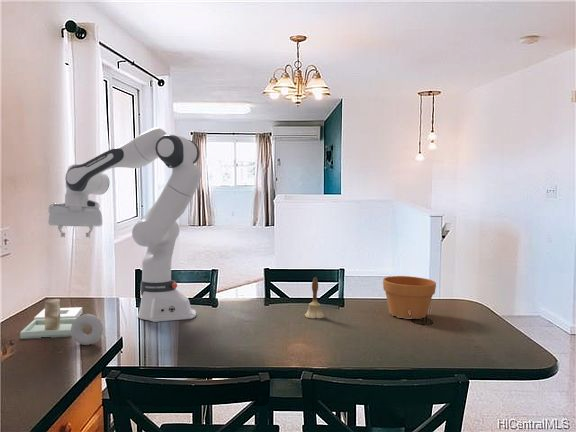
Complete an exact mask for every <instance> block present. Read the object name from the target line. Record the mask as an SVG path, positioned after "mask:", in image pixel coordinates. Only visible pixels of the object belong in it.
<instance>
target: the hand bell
mask: <svg viewBox="0 0 576 432" xmlns="http://www.w3.org/2000/svg"><path fill="white" fill-rule="evenodd" d="M311 290H312V302H310V303H308V308H307V311H306V313H305V314H304V315H305V316H306V317H308V318H322V317H324V318H325V315H324V314H323V313H322V309H321V304H320V303H319V302H318V291H319V281H318V278H317V277H313V279H312V282H311ZM308 318H307V319H308Z"/></svg>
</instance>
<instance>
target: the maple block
mask: <svg viewBox="0 0 576 432" xmlns="http://www.w3.org/2000/svg"><path fill="white" fill-rule="evenodd" d="M44 308H45V330H58V329H59V328H60V308H61V299H60V298H47V299H46V300H45V301H44Z"/></svg>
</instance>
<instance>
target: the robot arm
mask: <svg viewBox="0 0 576 432" xmlns="http://www.w3.org/2000/svg"><path fill="white" fill-rule="evenodd" d="M200 153H201V152H200V148H199V145H197V144H196V143H195V142H194V141H193V140H190V139H187V138H185V137H184V136H180V135H175V134H168V133H167V132H166V131H165V130H164V129H162V128H160V127H153V128H150V129H149V130H147V131H144V132H142V133H141V134H139V135H137V136H136V137H135V138H133V139H131V140H130V141H127V142H126V143H124V144H122V145H120V146H117V147H114V148H111V149H109V150H106V151H104V152H103V153H100V154H99V155H97V156H95V157H93V158H91V159H89V160H88V161H86V162H83V163H74V164H72V165H70V166H68V168H67V171H66V173H65V189H66V192H65V195H64V203H62V202H61V203H57V202H55V203H54V202H53V203H52V204H50V205H49V206H48V213H49V215H48V225H49V226H50V227H57V229H58V231H59V233H60V238H66V232H63V230H62V229H63V228H64V227H88V228H89V230H88V232H85V238H90V237H91V234H92V232H93V231H94V228H95V227H101V226H103V215H102V214H103V213H102V211H101V210H100V203H99V202H97V201H94V200H91V199H89V195H90V194H91V195H94V196H95V195H96V196H98V195H103V194H105V193H107V191H108V189H109V187H110V178H109V176H108V174H106V173H104V172H106V171H108V170H110V169H114V168H129V169H139V168H143V167H145V166H147V165H149V164H150V163H152V162H153V161H155V160H156V159H159V160H161V161H162V162H163V163H164V164H165V166H166V167H167V168H168V169H171V175H170V176H169V179H168V180H167V182H166V184H165V186H164V188H163V189H162V190H161V193H160V194H159V197H158V198H157V200H156V201H155V203H154V204H152V206H151V208H150V209H149V210H148V211H147V212H146V214H145V215H144V216H143V217H142V218H141V219H140V220H139V221H138V222H137V223H135V224H134V226H133V227H132V230H131V236H132V239H133V241H134V242H135V243H136V244H137V245H138V246H141V247H145V248H147V249H146V252H145V256H144V257H143V259H142V262H141V263H142V264H141V270H142V271H141V272H142V273H141V281H140V296H141V300H140V306H139V308H138V309H139V310H138V312H137V313H138V314H137V318H139V319H141V320H145V321H146V320H147V321H150V322H153V323H155V322H156V323H157V322H158V323H159V322H169V321H178V320H180V321H181V320H191V319H195V317H196V316H197V311H196V310H195V309H194V308H192V306H191V303H190V300H189V298H188V297H187V296H186V295H185V294H183V293H181V291H179V290H178V289H177V288H178V283H177V282H176V281H175V280H173V279H172V258H173V253H174V249H175V245H176V240H177V239H178V236H179V234H180V225H179V223H178V222H177V220H178V219H179V218H180V217H181V216H182V215H183V214H184V213H185V211H186V209H187V208H188V206H189V204H190V203H191V200H192V198H193V197H194V194H195V193H196V191H197V188H198V186H199V183H200V181H201V177H202V171H201V169H200V168H199V167H198V166H197V165H196V163H197V162H198V161H199V159H200Z"/></svg>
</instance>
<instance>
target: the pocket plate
mask: <svg viewBox="0 0 576 432" xmlns="http://www.w3.org/2000/svg"><path fill="white" fill-rule="evenodd" d="M81 314H82V315H83V306H82V307H80V306H79V307H60V319H69V318H77V317H79V316H80V315H81ZM40 319H45V307H43V309H42V310H41V311H40V312H39V313H37V315H35V316H34V317H33V320H40Z"/></svg>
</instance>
